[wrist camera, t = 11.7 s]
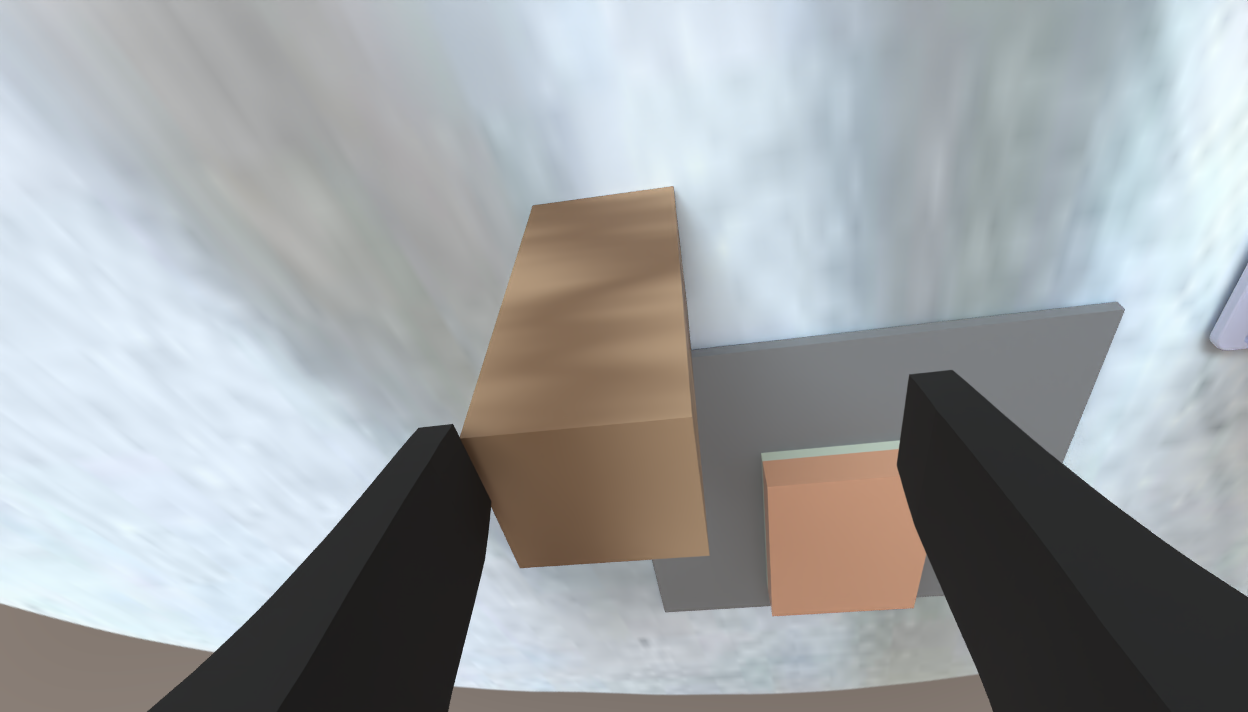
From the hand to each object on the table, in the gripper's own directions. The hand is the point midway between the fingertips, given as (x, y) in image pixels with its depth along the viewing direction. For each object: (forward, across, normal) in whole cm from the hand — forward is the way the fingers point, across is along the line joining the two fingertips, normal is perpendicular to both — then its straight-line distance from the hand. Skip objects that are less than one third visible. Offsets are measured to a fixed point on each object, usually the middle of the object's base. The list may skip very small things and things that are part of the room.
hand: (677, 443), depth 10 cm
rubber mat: (+9, -5, +14) cm, 17 cm away
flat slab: (+8, -5, +11) cm, 14 cm away
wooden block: (+9, +2, +2) cm, 10 cm away
